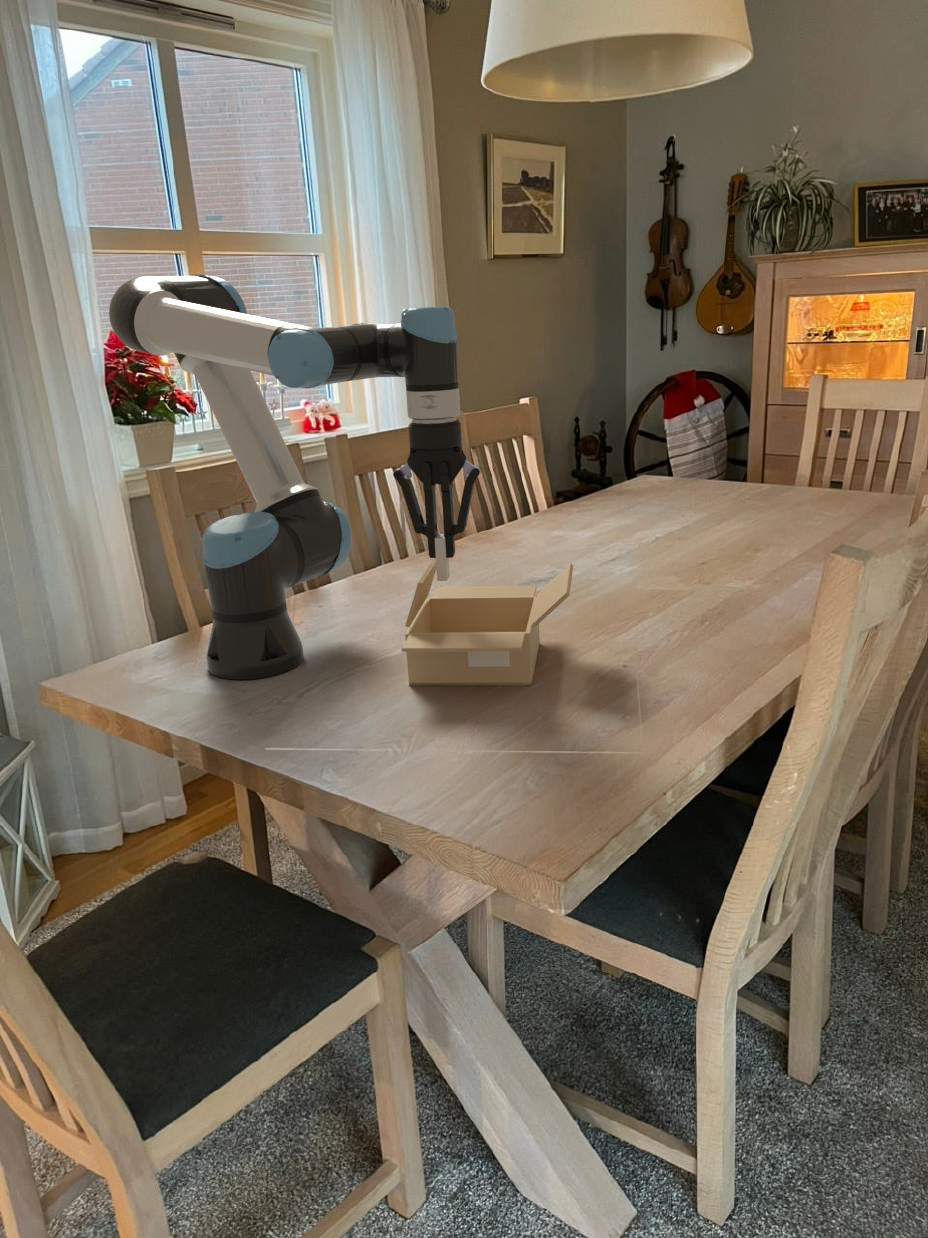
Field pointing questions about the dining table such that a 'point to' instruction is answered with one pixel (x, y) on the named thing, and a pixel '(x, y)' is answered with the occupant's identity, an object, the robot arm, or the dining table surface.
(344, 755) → the dining table surface
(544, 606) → the flap
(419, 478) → the robot arm
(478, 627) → the carton
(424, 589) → the flap
